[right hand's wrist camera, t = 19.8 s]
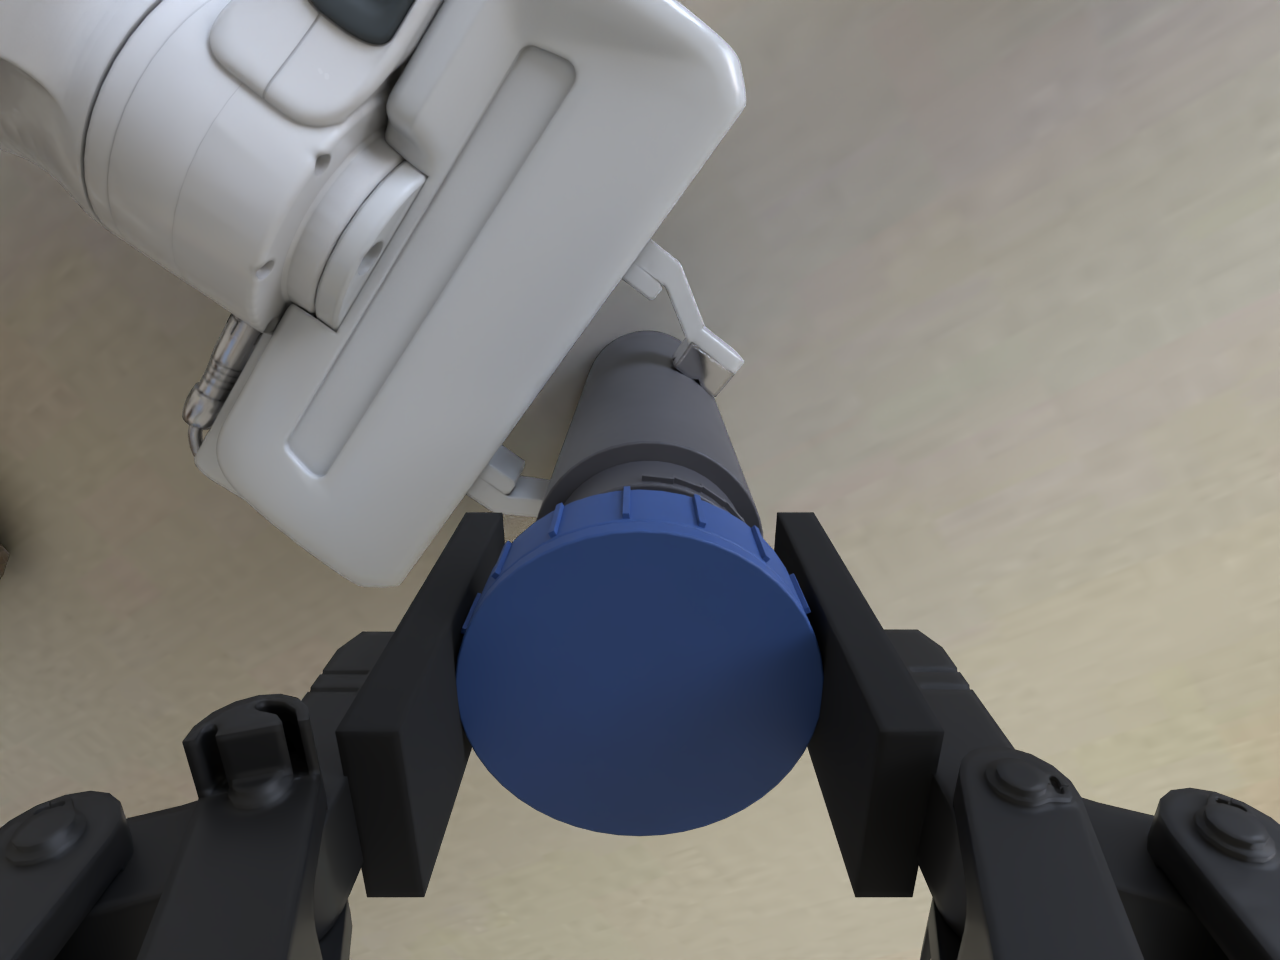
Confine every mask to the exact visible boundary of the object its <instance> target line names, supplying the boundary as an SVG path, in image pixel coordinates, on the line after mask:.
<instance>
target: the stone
mask: <svg viewBox="0 0 1280 960" xmlns="http://www.w3.org/2000/svg"><path fill="white" fill-rule="evenodd" d="M8 558H9V553H8V552H7V550H6V549H5V548H4V547H3V546H2V545H1V544H0V579H1V577H2V576H3V574H4V570H5V567H6V563H7V561H8Z"/></svg>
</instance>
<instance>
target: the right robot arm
mask: <svg viewBox="0 0 1280 960" xmlns="http://www.w3.org/2000/svg"><path fill="white" fill-rule="evenodd" d="M504 544H505V540H504V527H503V514H502V513H465V515H464V517H463V518H462V520H461V522H460V523H459V525H458V527H457V528H456V530H455V532H454V533H453V535H452V537H451V539H450V540H449V542H448V544H447V545H446V547H445V549H444V550H443V552H442V554H441V555H440V557H439V559H438V560H437V562H436V564H435V565H434V567H433V569H432V570H431V572H430V574H429V575H428V577H427V579H426V580H425V582H424V584H423V585H422V587H421V589H420V590H419V592H418V594H417V595H416V597H415V599H414V600H413V602H412V604H411V605H410V607H409V609H408V610H407V612H406V614H405V615H404V617H403V619H402V620H401V622H400V624H399V625H398V627H397V629H396V630H395V632H361V633H360V634H359V635H357V636H356V637H354V638H353V639H352V640H350V641H349V642H347V643H346V644H345V645H343V646H342V647H341V648H339V649H338V650H337V651H336V653H335V654H334V655H333V657H332V658H331V660H330V661H329V662H328V664H327V665H326V667H325V668H324V670H323V674H320V675H319V677H318V678H317V679H316V681H315V682H314V684H313V685H312V686H311V691H310V692H307V694H306V695H305V696H304V698H303V699H302V701H301V700H299V699H298V698H296V697H292V696H287V695H283V694H271V695H258V696H254V697H251V698H247V699H243V700H239V701H236V702H233V703H231V704H229V705H227V706H225V707H223V708H221V709H219V710H217V711H215V712H213V713H211V714H210V715H209V716H207V717H206V718H205V719H203V720H202V721H201V722H199V723H198V724H197V725H195V726H194V727H193V728H192V730H191V731H190V732H189V734H188V735H187V736H186V738H185V739H184V740H183V742H182V743H183V746H184V750H185V753H186V756H187V760H188V763H189V767H190V770H191V773H192V777H193V780H194V784H195V787H196V790H197V794H198V797H199V799H198V801H195V802H191V803H188V804H185V805H182V806H178V807H173V808H169V809H165V810H161V811H156V812H152V813H148V814H144V815H139V816H135V817H131V818H127V819H126V817H125V814H124V811H123V809H122V806H121V803H120V801H118V800H117V799H116V798H115V797H113V796H112V795H111V794H110V793H104V792H96V791H86V792H80V793H74V794H68V795H64V796H61V797H58V798H56V799H53V800H50V801H47V802H45V803H42V804H39V805H37V806H35V807H33V808H31V809H30V810H28V811H26V812H24V813H23V814H21V815H19V816H17V817H15V818H14V819H12V820H10V821H9V822H7V823H6V824H5V825H4V826H3V827H1V828H0V960H349V955H350V944H351V934H352V921H351V914H350V908H349V903H348V897H349V894H350V892H351V890H352V887H353V885H354V883H355V881H356V878H357V876H358V874H359V871H360V869H361V868H362V873H363V878H364V884H365V889H366V894H367V897H424V896H425V893H426V890H427V887H428V884H429V881H430V877H431V874H432V871H433V868H434V865H435V862H436V859H437V856H438V852H439V849H440V846H441V843H442V840H443V837H444V834H445V830H446V827H447V824H448V821H449V818H450V815H451V812H452V809H453V805H454V802H455V799H456V796H457V793H458V790H459V787H460V783H461V780H462V777H463V774H464V771H465V768H466V765H467V762H468V758H469V755H470V752H471V749H472V746H471V744H470V742H469V740H468V738H467V736H466V733H465V731H464V728H463V725H462V722H461V720H460V712H459V704H458V696H457V686H456V665H457V657H458V653H459V650H460V646H461V643H462V639H463V636H464V634H462V633H461V630H462V627H463V625H464V622H465V620H466V618H467V616H468V613H469V611H470V609H471V606H472V604H473V602H474V599H475V597H476V595H477V593H481V594H482V591H483V589H484V587H485V585H486V582H487V580H488V578H489V576H490V574H491V572H492V569H493V568H494V566H495V565H496V563H497V561H498V559H499V556H500V554H501V551H502V549H503V547H504ZM774 551H775V553H776V554H777V556H778V557H779V559H780V560H781V562H782V563H783V565H784V566H785V568H786V570H787V572H788V574H789V575H791V574H793V573H794V575H795V577H796V579H797V581H798V584H799V586H800V588H801V590H802V593H803V595H804V597H805V599H806V602H807V604H808V606H809V608H810V611H811V612H810V613H808V614H806V615H807V617H808V619H809V622H810V624H811V626H812V629H813V631H814V633H815V636H816V639H817V643H818V646H819V649H820V653H821V657H822V664H823V672H824V680H823V689H822V699H821V707H820V715H819V719H818V722H817V725H816V728H815V730H814V733H813V736H812V738H811V740H810V742H809V744H808V745H807V747H808V750H809V753H810V757H811V760H812V763H813V766H814V769H815V772H816V775H817V778H818V782H819V785H820V788H821V791H822V794H823V797H824V800H825V804H826V807H827V810H828V813H829V816H830V819H831V822H832V825H833V829H834V832H835V835H836V838H837V841H838V844H839V847H840V851H841V854H842V857H843V860H844V863H845V866H846V869H847V872H848V876H849V879H850V882H851V885H852V888H853V891H854V894H855V897H913V892H914V886H915V881H916V876H917V871H918V866H919V867H920V869H921V871H922V874H923V876H924V878H925V880H926V883H927V885H928V887H929V890H930V892H931V894H932V897H933V898H932V903H931V908H930V913H929V917H928V922H927V927H926V932H925V937H924V941H923V946H922V951H921V958H920V960H1280V824H1278V823H1277V822H1276V821H1275V820H1273V819H1272V818H1271V817H1269V816H1267V815H1265V814H1264V813H1262V812H1260V811H1258V810H1256V809H1255V808H1253V807H1251V806H1249V805H1247V804H1246V803H1244V802H1241V801H1239V800H1236V799H1233V798H1230V797H1228V796H1225V795H1222V794H1219V793H1217V792H1212V791H1206V790H1200V789H1194V788H1185V789H1177V790H1171V791H1169V792H1168V793H1167V794H1166V795H1165V796H1163V797H1162V798H1161V799H1160V801H1159V804H1158V807H1157V810H1156V813H1155V816H1153V815H1149V814H1144V813H1140V812H1136V811H1132V810H1127V809H1123V808H1119V807H1115V806H1110V805H1106V804H1102V803H1098V802H1095V801H1091V800H1088V799H1085V798H1082V797H1081V796H1080V795H1079V793H1078V792H1077V790H1076V788H1075V787H1074V785H1073V784H1072V782H1071V781H1070V780H1069V779H1068V778H1067V777H1065V776H1064V775H1063V774H1062V773H1061V772H1060V771H1058V770H1057V769H1056V768H1055V767H1054V766H1052V765H1050V764H1049V763H1047V762H1045V761H1043V760H1041V759H1039V758H1037V757H1035V756H1034V755H1032V754H1029V753H1025V752H1022V751H1019V750H1015V749H1014V747H1013V746H1012V745H1011V743H1010V742H1009V740H1008V739H1007V738H1006V736H1005V735H1004V733H1003V732H1002V731H1001V729H1000V728H999V726H998V725H997V723H996V722H995V721H994V719H993V718H992V716H991V715H990V714H989V712H988V711H987V709H986V708H985V707H984V705H983V704H982V702H981V701H980V700H979V698H978V697H977V695H976V694H975V693H974V691H973V690H970V689H969V684H968V683H967V681H966V680H965V679H964V677H963V676H962V674H961V673H960V672H957V667H956V666H955V664H954V663H953V662H952V660H951V659H950V657H949V656H948V655H947V653H946V652H945V650H944V649H943V648H942V647H941V646H940V645H938V644H937V643H935V642H934V641H933V640H931V639H930V638H928V637H927V636H926V635H924V634H923V633H921V632H920V631H919V630H884V629H883V628H882V626H881V624H880V623H879V621H878V619H877V618H876V616H875V614H874V613H873V611H872V609H871V608H870V606H869V604H868V603H867V601H866V599H865V598H864V596H863V594H862V593H861V591H860V589H859V588H858V586H857V584H856V583H855V581H854V579H853V578H852V576H851V574H850V573H849V571H848V569H847V568H846V566H845V564H844V563H843V561H842V559H841V558H840V556H839V554H838V553H837V551H836V549H835V548H834V546H833V544H832V543H831V541H830V539H829V538H828V536H827V534H826V533H825V531H824V529H823V528H822V526H821V524H820V523H819V521H818V519H817V518H816V516H815V514H814V513H777V522H776V535H775V548H774Z"/></svg>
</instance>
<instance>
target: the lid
mask: <svg viewBox="0 0 1280 960" xmlns="http://www.w3.org/2000/svg"><path fill="white" fill-rule="evenodd" d="M810 612H811V611H810V608H809V606H808V604H807V602H806V599H805V597H804V595H803V593H802V590H801V588H800V586H799V584H798V581H797V579H796V577H795V575H794V573H793V574H791V575H789V574H788V572H787V570H786V568H785V566H784V565H783V563H782V562H781V560H780V559H779V557H778V556H777V554H776V553H775V551H774V550H773V549H772V548H771V547H770V546H769V545H768V544H767V542H766V541H765V540H764V539H763V538H762V536H761V533H760V531H759V528H758V527H756V526H755V525H754V526H753V527H752V528H750V527H749V526H748V525H747V524H746V523H744V522H743V521H741V520H740V519H738V518H737V517H735V516H733V515H732V514H730V513H729V512H727V511H725V510H723V509H721V508H719V507H716V506H714V505H712V504H710V503H708V502H705V501H702V500H701V497H700V495H697V494H694V496H693V498H692V497H689V496H686V495H682V494H676V493H671V492H665V491H655V490H631V489H630V486H624V489H623V491H614V492H608V493H603V494H598V495H593V496H590V497H587V498H583V499H580V500H577V501H574V502H571V503H569V504H567V505H565V506H564V505H563V503H562V502H561V503H559V504H557V505H556V508H555V510H554V511H552V512H550V513H549V514H547V515H546V516H544V517H543V518H541V519H539V520H538V521H536V522H535V523H533V524H532V525H531V526H530V527H529V528H527V529H526V530H525V531H524V532H523V533H521V534H520V535H519V536H518V537H517V538H516V539H515V540H514V541H513V542H512V543H511V542H509V541H507V542H506V543H505V544H504V547H503V549H502V551H501V554H500V556H499V559H498V561H497V563H496V565H495V566H494V568H493V569H492V572H491V574H490V576H489V578H488V580H487V582H486V585H485V587H484V589H483V591H482V594H481V593H477V595H476V597H475V599H474V602H473V604H472V606H471V609H470V611H469V613H468V616H467V618H466V620H465V622H464V625H463V627H462V630H461V633H462V634H464V636H463V639H462V643H461V646H460V650H459V653H458V657H457V665H456V686H457V696H458V704H459V712H460V720H461V722H462V725H463V728H464V731H465V733H466V736H467V738H468V740H469V742H470V744H471V746H472V747H473V749H474V751H475V753H476V755H477V756H478V757H479V759H480V760H481V762H482V763H483V764H484V766H485V767H486V768H487V770H488V771H489V772H490V773H491V774H492V775H493V776H494V777H495V778H496V779H497V780H498V782H499V783H500V784H501V785H502V786H504V787H505V788H506V789H507V790H508V791H510V792H511V793H512V794H513V795H515V796H516V797H517V798H518V799H520V800H521V801H523V802H524V803H526V804H528V805H529V806H531V807H532V808H534V809H535V810H537V811H539V812H541V813H543V814H545V815H548V816H550V817H552V818H554V819H556V820H559V821H561V822H564V823H567V824H570V825H572V826H575V827H579V828H583V829H587V830H591V831H595V832H600V833H607V834H614V835H627V836H652V835H665V834H672V833H678V832H684V831H688V830H692V829H696V828H700V827H704V826H707V825H709V824H712V823H715V822H717V821H720V820H723V819H725V818H727V817H729V816H731V815H733V814H735V813H737V812H739V811H741V810H743V809H745V808H747V807H748V806H750V805H751V804H753V803H754V802H756V801H757V800H759V799H760V798H762V797H763V796H764V795H766V794H767V793H768V792H769V791H770V790H772V789H773V788H774V787H775V786H776V785H778V784H779V782H780V781H781V780H782V779H783V778H784V777H785V776H786V775H787V774H788V773H789V772H790V771H791V770H792V768H793V767H794V766H795V764H796V763H797V761H798V760H799V759H800V757H801V756H802V754H803V753H804V751H805V749H806V747H807V745H808V744H809V742H810V740H811V738H812V736H813V733H814V730H815V728H816V725H817V722H818V719H819V715H820V707H821V699H822V689H823V680H824V672H823V664H822V657H821V653H820V649H819V646H818V643H817V639H816V636H815V633H814V631H813V629H812V626H811V624H810V622H809V619H808V617H807V615H806V614H808V613H810Z"/></svg>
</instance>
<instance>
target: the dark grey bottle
mask: <svg viewBox="0 0 1280 960" xmlns="http://www.w3.org/2000/svg"><path fill="white" fill-rule="evenodd" d="M681 343H682V342H681V341H680V340H678V339H677V338H675V337H673V336H670V335H668V334H665V333H661V332H655V331H638V332H633V333H629V334H626V335H624V336H621V337H619V338H617V339H616V340H614V341H612V342H611V343H610V344H608V345H607V346H606V347H605V348H604V349H603V350H602V351H601V352H600V354H599V355H598V356H597V357H596V359H595V361H594V363H593V364H592V367H591V369H590V372H589V374H588V377H587V380H586V383H585V386H584V388H583V391H582V394H581V397H580V399H579V402H578V405H577V408H576V410H575V413H574V416H573V419H572V422H571V424H570V427H569V430H568V433H567V435H566V438H565V441H564V444H563V446H562V449H561V452H560V455H559V458H558V460H557V463H556V466H555V469H554V471H553V474H552V477H551V480H550V482H549V485H548V488H547V491H546V493H545V496H544V499H543V502H542V505H541V507H540V510H539V513H538V516H537V520H536V521H538V520H539V519H541V518H543V517H544V516H546V515H547V514H549V513H550V512H552V511H554V510H555V508H556V505H557V504H559V503H561V502H562V503H563V505H564V506H565V505H567V504H569V503H571V502H574V501H577V500H580V499H583V498H587V497H590V496H593V495H598V494H603V493H608V492H614V491H623V489H624V486H630V489H631V490H655V491H665V492H671V493H676V494H682V495H686V496H689V497H692V498H693V496H694V494H697V495H700V497H701V500H702V501H705V502H708V503H710V504H712V505H714V506H716V507H719V508H721V509H723V510H725V511H727V512H729V513H730V514H732V515H733V516H735V517H737V518H738V519H740V520H741V521H743V522H744V523H746V524H747V525H748V526H749V527H750V528H752V527H753V526H754V525H755V526H756V527H758V528H759V531H760V533H761V536H762V538H763V531H762V526H761V521H760V517H759V514H758V512H757V509H756V506H755V504H754V501H753V498H752V496H751V493H750V490H749V488H748V485H747V483H746V480H745V477H744V475H743V472H742V469H741V467H740V464H739V462H738V459H737V456H736V454H735V451H734V448H733V446H732V443H731V441H730V438H729V435H728V433H727V430H726V428H725V425H724V422H723V420H722V417H721V414H720V412H719V409H718V407H717V404H716V401H715V399H714V396H712V395H711V394H709V393H708V392H706V391H705V390H704V389H703V388H702V387H701V386H700V383H699V380H698V379H690V378H689V377H687V376H685V375H684V374H683V373H682V372H680V371H679V370H678V369H676V368H675V367H674V365H673V360H672V355H673V354H674V352H675V351H676V350H677V348H678V347H679V346H680V344H681Z"/></svg>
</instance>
